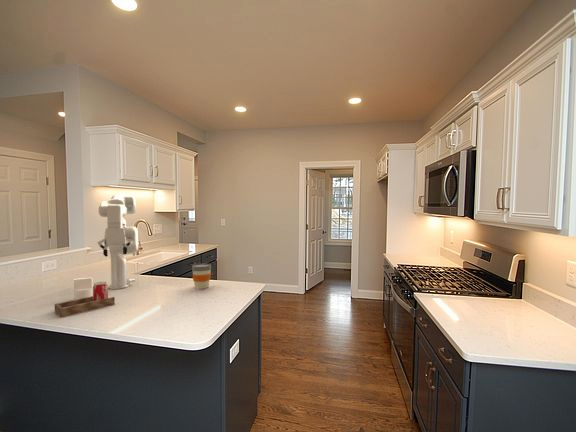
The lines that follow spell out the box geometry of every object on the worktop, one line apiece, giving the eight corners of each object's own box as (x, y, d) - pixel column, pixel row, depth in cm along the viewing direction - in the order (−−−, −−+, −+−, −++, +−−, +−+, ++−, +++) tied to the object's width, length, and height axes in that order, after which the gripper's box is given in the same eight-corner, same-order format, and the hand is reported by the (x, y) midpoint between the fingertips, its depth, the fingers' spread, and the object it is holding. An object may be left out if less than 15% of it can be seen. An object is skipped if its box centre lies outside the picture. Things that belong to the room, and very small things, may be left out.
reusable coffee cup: (188, 288, 187) (187, 266, 186) (200, 283, 198) (200, 262, 198) (203, 290, 182) (203, 267, 182) (215, 285, 194) (214, 264, 193)
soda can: (100, 307, 152) (100, 285, 151) (89, 306, 153) (89, 284, 153) (111, 302, 158) (110, 281, 158) (100, 301, 160) (100, 281, 160)
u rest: (107, 299, 163) (107, 293, 163) (114, 304, 156) (114, 297, 156) (54, 311, 145) (54, 303, 145) (60, 317, 137) (60, 309, 137)
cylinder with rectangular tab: (72, 301, 160) (72, 281, 160) (76, 297, 168) (75, 277, 168) (91, 299, 164) (91, 279, 164) (94, 295, 172) (93, 276, 172)
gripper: (129, 225, 170) (129, 252, 171) (95, 226, 157) (96, 256, 158) (133, 225, 165) (134, 254, 166) (99, 226, 152) (100, 257, 153)
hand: (115, 255), depth 162 cm, fingers open, 9 cm apart
